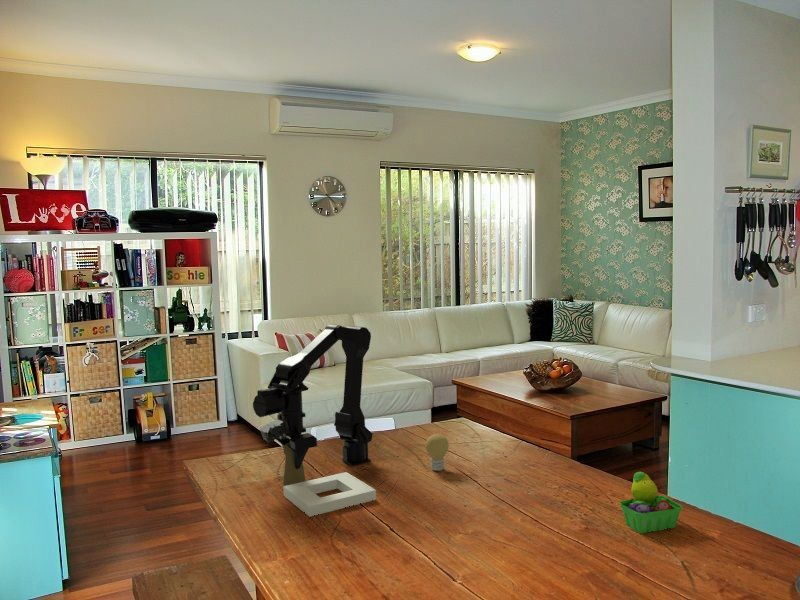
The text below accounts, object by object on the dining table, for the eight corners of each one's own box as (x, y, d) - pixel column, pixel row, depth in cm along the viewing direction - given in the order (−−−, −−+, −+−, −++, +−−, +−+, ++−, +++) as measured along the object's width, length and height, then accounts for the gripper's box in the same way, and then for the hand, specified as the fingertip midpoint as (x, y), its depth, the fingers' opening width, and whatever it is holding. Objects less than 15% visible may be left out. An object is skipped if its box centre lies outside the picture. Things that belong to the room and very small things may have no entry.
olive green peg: (278, 484, 180) (276, 444, 179) (292, 477, 185) (290, 438, 184) (297, 488, 177) (295, 447, 176) (310, 480, 183) (308, 441, 182)
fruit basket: (638, 537, 144) (638, 485, 143) (614, 520, 152) (614, 472, 151) (684, 529, 147) (684, 479, 146) (658, 514, 155) (658, 466, 154)
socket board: (346, 481, 182) (346, 472, 181) (376, 499, 168) (375, 489, 168) (283, 495, 172) (283, 486, 172) (309, 516, 159) (309, 506, 158)
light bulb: (449, 465, 192) (448, 431, 191) (448, 473, 185) (448, 438, 184) (426, 465, 192) (426, 431, 191) (425, 473, 186) (424, 438, 185)
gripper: (250, 407, 183) (252, 463, 185) (276, 421, 167) (278, 482, 169) (288, 401, 189) (291, 455, 190) (317, 414, 173) (319, 473, 175)
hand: (293, 466), depth 181 cm, fingers closed on olive green peg, 4 cm apart
